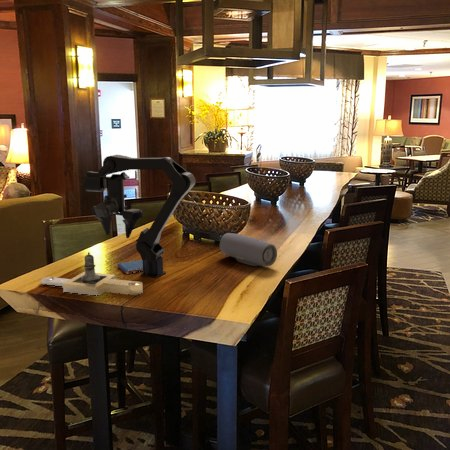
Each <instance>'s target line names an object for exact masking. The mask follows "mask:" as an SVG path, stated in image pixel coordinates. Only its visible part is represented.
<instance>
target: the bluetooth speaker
mask: <svg viewBox="0 0 450 450" xmlns="http://www.w3.org/2000/svg"><path fill="white" fill-rule="evenodd" d="M219 249H220V251H221V253H223V254H225V255H227V256H229V257H232V258H234V259H235V260H236V261H237V263H241V264H245V265H248V266H250V267H251V266H252V267H257V266H260V267H271V266H272V265H274V264H275V262H276V261H277V258H278V250H277V248H276V246H275V245H274V244H272V243H270V242H267V241H264V240H262V239H257V238H255V237H251V236H247V235H242V234H239V233H232V232H227V233H224V234H223V235H222V237H221V238H220V241H219Z"/></svg>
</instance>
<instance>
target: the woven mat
mask: <svg viewBox="0 0 450 450" xmlns="http://www.w3.org/2000/svg"><path fill="white" fill-rule="evenodd" d="M142 261H143V260H142V259H139V260H131V261H127V262H119V263H118V264H116V266H117V268H118V269H120V271H122V272H124V274H125V275H129V274H130V273H131V274H135V273H136V272H137V273H141V272H142V271H143V262H142ZM138 271H139V272H138ZM140 271H141V272H140ZM132 272H133V273H132Z"/></svg>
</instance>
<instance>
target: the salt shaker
mask: <svg viewBox="0 0 450 450" xmlns="http://www.w3.org/2000/svg"><path fill="white" fill-rule="evenodd" d="M94 258H95V257H94V255H92V254H91V253H90V252H89V251H88V252H87V254H86V255H85V256H84V266H83V268H84V272H85V275H84V276H83V277H81V280H82V282H83V283H86V284H96V283H97V282H98V281H99V278H100V276H99V275H96V274H95V273H96V272H95V270H96V269H95V267H96V265H95V259H94Z"/></svg>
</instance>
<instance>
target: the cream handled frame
mask: <svg viewBox="0 0 450 450" xmlns="http://www.w3.org/2000/svg"><path fill="white" fill-rule="evenodd" d="M70 279H71V278H63V277H54V276H46V277H42V278H40V285H41V284H47V285H55V286H62V287H61V288H62V290H63V293H64V292H70V293H69V294H72V293H78V294H77V295H81V294H89V295H88V296H90V295H96V296H95V297H98V296H97V295H99V294H100V295H101V293H102V294H103V293H105V292H104V288H102V289H101V290H99V291H97V292H95V291H86V290H76V289H67V288H63V283H65V282H66V281H68V280H70ZM99 281H101V280H99ZM99 281H98V282H99ZM79 283H83V282H82V281H81V282H79ZM55 286H54V287H55ZM100 295H99V296H100Z"/></svg>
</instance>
